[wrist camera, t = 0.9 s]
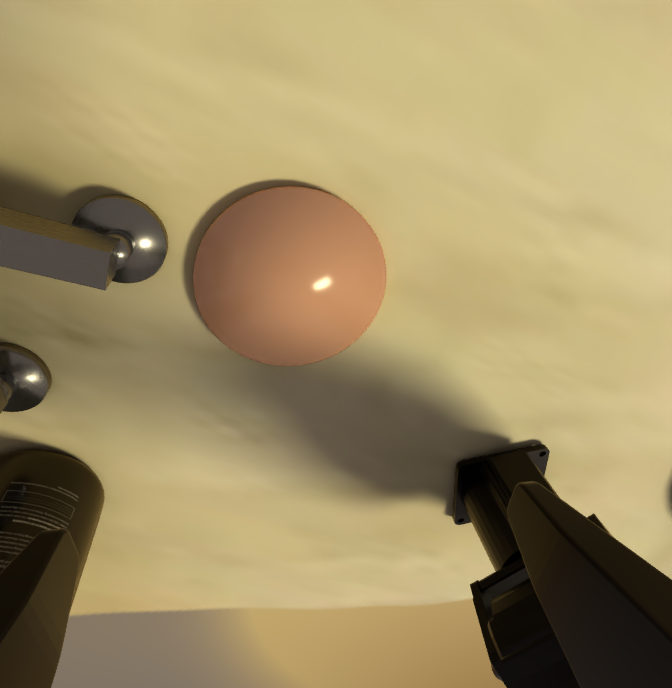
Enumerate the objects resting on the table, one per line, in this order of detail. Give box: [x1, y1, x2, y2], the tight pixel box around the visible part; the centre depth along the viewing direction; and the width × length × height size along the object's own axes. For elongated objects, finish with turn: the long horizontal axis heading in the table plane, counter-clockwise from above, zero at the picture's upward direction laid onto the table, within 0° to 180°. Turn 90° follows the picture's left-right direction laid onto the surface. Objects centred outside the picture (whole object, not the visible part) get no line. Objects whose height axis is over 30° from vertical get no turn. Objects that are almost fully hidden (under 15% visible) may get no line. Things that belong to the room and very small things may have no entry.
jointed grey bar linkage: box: [0, 195, 168, 413], centre depth 18 cm, size 11×11×4 cm
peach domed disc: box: [193, 186, 386, 366], centre depth 21 cm, size 9×9×1 cm
